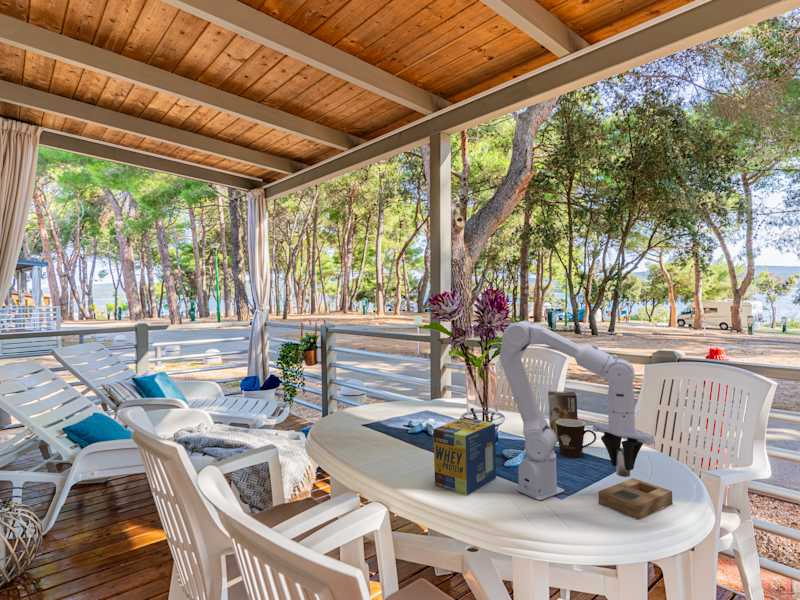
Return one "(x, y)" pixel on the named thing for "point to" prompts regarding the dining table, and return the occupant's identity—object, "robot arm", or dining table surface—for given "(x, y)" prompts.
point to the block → (635, 498)
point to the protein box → (464, 455)
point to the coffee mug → (571, 437)
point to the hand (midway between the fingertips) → (622, 467)
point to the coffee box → (561, 407)
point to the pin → (621, 463)
